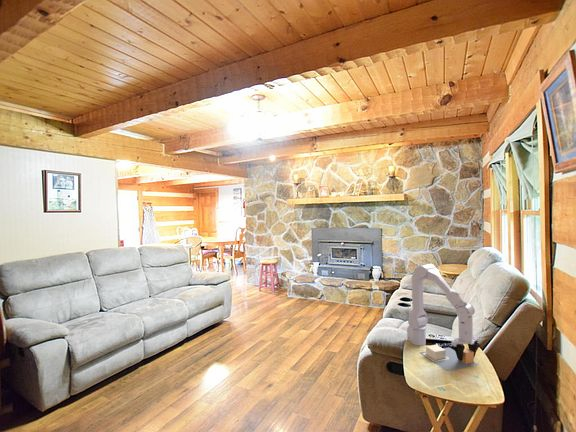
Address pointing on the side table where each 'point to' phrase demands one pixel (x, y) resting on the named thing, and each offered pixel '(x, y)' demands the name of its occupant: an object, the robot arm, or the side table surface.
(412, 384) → the side table surface
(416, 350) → the side table surface
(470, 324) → the robot arm
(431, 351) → the base block
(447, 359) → the board
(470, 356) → the orange block
